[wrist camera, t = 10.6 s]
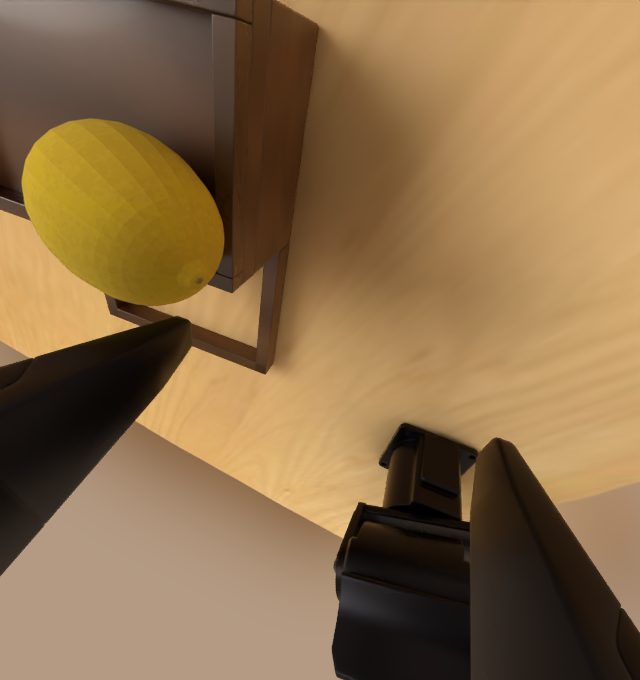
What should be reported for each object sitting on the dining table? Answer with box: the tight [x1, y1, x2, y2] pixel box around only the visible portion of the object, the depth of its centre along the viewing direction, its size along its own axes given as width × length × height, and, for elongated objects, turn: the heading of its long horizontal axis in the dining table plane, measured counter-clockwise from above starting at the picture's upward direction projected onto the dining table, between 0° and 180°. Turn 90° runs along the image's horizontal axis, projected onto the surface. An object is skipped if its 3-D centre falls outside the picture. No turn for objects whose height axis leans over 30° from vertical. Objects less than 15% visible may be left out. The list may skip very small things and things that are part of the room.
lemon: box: [22, 118, 224, 306], centre depth 11 cm, size 6×6×8 cm
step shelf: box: [0, 0, 318, 375], centre depth 19 cm, size 21×15×7 cm
